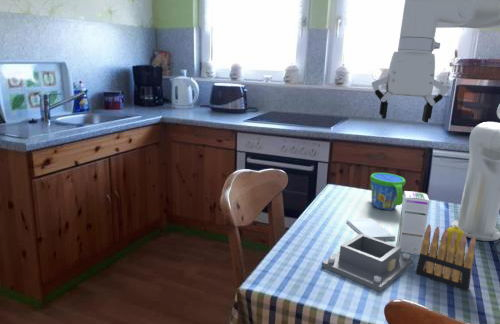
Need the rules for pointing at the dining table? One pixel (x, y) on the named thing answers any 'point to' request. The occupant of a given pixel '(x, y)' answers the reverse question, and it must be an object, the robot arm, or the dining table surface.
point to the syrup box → (412, 222)
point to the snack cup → (386, 190)
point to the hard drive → (370, 229)
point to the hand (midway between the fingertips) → (403, 119)
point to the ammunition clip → (446, 259)
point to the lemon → (450, 233)
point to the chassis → (369, 262)
